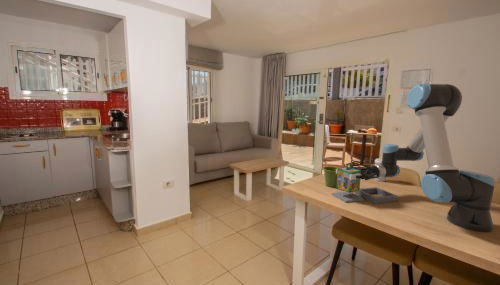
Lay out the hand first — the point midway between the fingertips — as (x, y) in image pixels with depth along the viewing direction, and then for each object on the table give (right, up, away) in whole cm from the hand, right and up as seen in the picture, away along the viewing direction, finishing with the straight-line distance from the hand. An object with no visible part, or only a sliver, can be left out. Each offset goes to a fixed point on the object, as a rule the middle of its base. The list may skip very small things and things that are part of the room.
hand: (343, 174), depth 132 cm
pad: (+4, -13, +3) cm, 14 cm away
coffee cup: (+41, -9, +38) cm, 56 cm away
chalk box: (+4, -9, +3) cm, 10 cm away
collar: (+20, -14, +4) cm, 25 cm away
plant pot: (+1, -11, +23) cm, 25 cm away
